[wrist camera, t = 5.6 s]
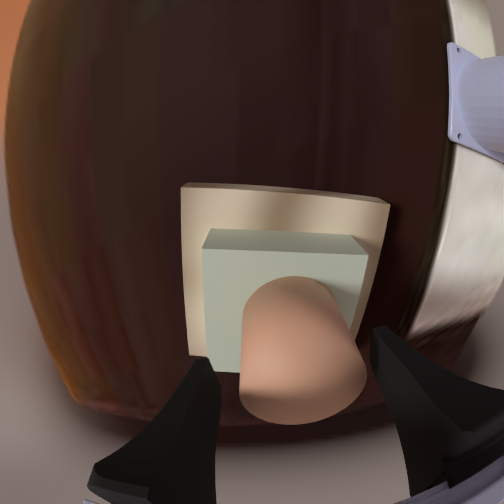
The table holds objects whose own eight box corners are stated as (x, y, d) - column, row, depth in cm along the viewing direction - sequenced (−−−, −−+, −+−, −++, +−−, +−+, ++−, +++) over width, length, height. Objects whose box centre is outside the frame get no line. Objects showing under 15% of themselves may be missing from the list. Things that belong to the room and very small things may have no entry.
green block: (350, 234, 16) (368, 255, 13) (327, 341, 19) (336, 371, 16) (210, 228, 15) (201, 248, 13) (213, 339, 19) (208, 370, 16)
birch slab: (374, 195, 17) (390, 204, 15) (340, 339, 22) (348, 359, 19) (190, 180, 17) (181, 187, 15) (194, 333, 22) (189, 354, 19)
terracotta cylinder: (331, 265, 13) (368, 328, 8) (339, 341, 15) (364, 408, 10) (230, 288, 14) (221, 361, 9) (255, 359, 15) (256, 431, 11)
